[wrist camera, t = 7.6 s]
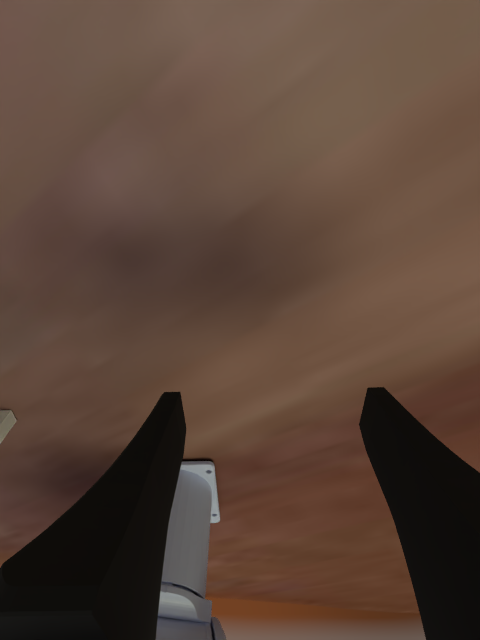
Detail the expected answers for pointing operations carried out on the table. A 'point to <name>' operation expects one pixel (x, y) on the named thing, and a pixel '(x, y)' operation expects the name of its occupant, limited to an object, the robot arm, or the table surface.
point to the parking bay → (6, 423)
